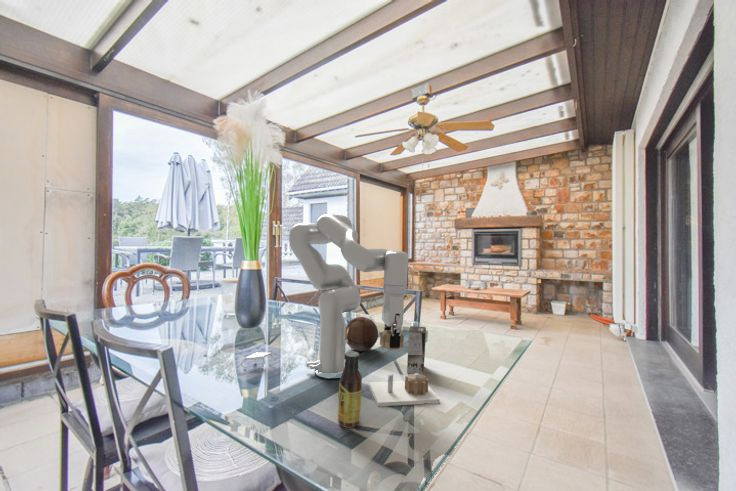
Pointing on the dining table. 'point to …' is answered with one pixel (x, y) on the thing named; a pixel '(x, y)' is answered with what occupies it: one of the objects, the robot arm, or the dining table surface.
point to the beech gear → (386, 340)
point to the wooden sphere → (361, 333)
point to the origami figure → (257, 356)
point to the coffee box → (416, 350)
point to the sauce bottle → (350, 392)
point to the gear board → (403, 391)
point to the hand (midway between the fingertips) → (391, 342)
